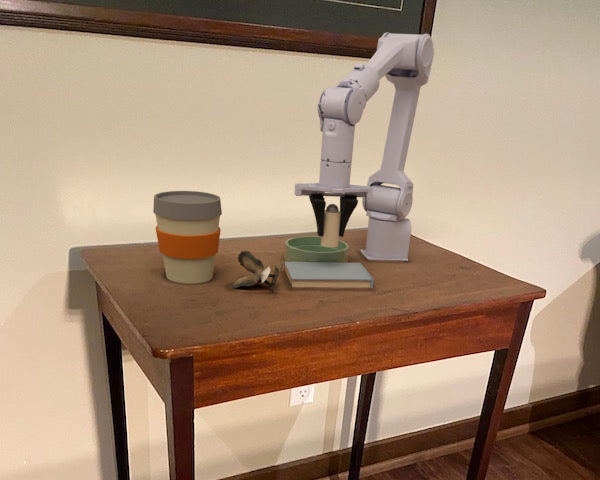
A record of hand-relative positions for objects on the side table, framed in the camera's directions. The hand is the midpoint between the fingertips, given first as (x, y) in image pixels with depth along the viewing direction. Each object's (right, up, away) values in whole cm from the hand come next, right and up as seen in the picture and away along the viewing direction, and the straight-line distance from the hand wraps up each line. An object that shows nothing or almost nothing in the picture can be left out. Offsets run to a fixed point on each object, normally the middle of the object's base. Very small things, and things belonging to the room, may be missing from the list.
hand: (330, 235), depth 119 cm
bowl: (-2, -2, +15) cm, 15 cm away
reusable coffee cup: (-27, -8, +1) cm, 29 cm away
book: (0, -8, +4) cm, 9 cm away
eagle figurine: (-15, -11, -3) cm, 18 cm away
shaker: (0, -2, +1) cm, 2 cm away
